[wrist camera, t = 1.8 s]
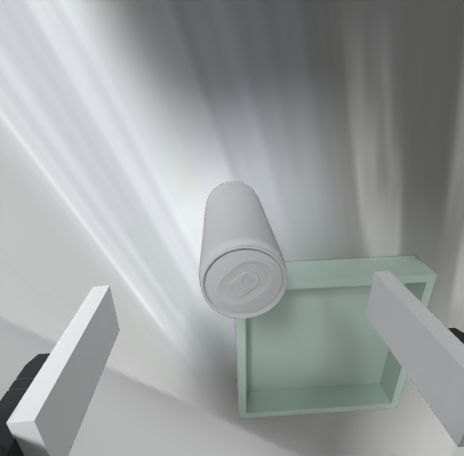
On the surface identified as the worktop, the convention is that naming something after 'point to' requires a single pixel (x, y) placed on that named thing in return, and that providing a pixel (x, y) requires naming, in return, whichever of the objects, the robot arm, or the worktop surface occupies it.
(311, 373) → the tray
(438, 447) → the worktop surface
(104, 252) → the worktop surface
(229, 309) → the beverage can
